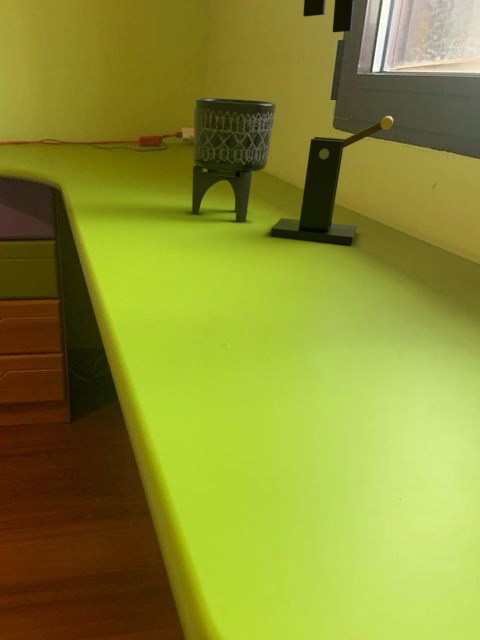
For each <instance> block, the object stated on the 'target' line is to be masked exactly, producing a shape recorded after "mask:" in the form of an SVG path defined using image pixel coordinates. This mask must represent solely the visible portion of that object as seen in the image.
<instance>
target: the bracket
mask: <svg viewBox="0 0 480 640" xmlns="http://www.w3.org/2000/svg"><path fill="white" fill-rule="evenodd" d="M344 139H345V138H337V137H336V138H335V137H324V136H314V137H313V138H311V139H310V144H309V151H308V157H307V165H306V173H305V179H304V180H305V181H304V186H303V193H302V202H301V209H300V216H299V219H293V218H285V217H281V218H279V220H278V221H277V222H276V223H275V224H274V225H273V226H272V228H271V230H270V237H276V238H284V239H293V240H294V239H295V240H302V241H310V242H319V243H326V244H327V243H328V244H329V243H330V244H336V245H337V244H338V245H347V246H352V244H353V241H354V238H355V236H356V232H357V226H356V225H352V224H351V225H349V224H341V223H333V215H334V209H335V202H336V197H337V192H338V184H339V179H340V171H341V165H342V159H343V152H344V148H342V140H344ZM341 148H342V149H341Z"/></svg>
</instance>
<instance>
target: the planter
mask: <svg viewBox="0 0 480 640" xmlns="http://www.w3.org/2000/svg"><path fill="white" fill-rule="evenodd" d="M193 104H194V107H193V109H194V112H193V113H194V114H193V116H194V117H193V148H192V149H193V151H192V152H193V154H192V158H193V159H192V160H193V163H194V164H193V165H192V191H191V193H192V196H191V197H192V199H191V214H192V215H199V214H200V209H201V205H202V201H203V198H204V196H205V195H206V193H207V192H208V191H209V189H210V188H211V187H212V186H214V185H215V184H217V183H219V182H222V181H227V182H228V183H229V185H230V186H231V189H232V191H233V194H234V212H235V221H236V222H237V223H246V222H247V215H248V207H249V200H250V192H251V186H252V185H251V183H252V177H253V176H252V175H253V173H254V172H255V173H256V172H261V171H263V170H264V169H265V168H266V167H267V164H268V159H269V153H270V146H271V139H272V133H273V127H274V121H275V114H276V107H277V104H276V103H275V102H272V101H264V100H255V99H254V100H253V99H239V98H238V99H237V98H220V97H219V98H217V97H214V98H213V97H198V98H197V97H196V98H195V99H194V103H193ZM204 170H206V171H204Z"/></svg>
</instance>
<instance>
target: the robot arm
mask: <svg viewBox="0 0 480 640" xmlns="http://www.w3.org/2000/svg"><path fill="white" fill-rule="evenodd" d="M333 7H334V8H333V19H332V20H333V21H332V31H331V32H332V33H344V32H352V30H353V19H354V9H355V8H354V7H355V0H334V6H333ZM325 12H326V0H303V17H305V18H307V17H314V16H324V15H326V13H325Z"/></svg>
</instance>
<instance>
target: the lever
mask: <svg viewBox="0 0 480 640" xmlns="http://www.w3.org/2000/svg"><path fill="white" fill-rule="evenodd" d="M393 123H394V118H393V117H392V115H385V116H384V117H383V118H382V120H380V121H379V122H377V123H375V124H373V125H370V126H369V127H367V128H364V129H362V130H360V131H358V132H356V133H354V134H353V135H350V136H348V137H346V138H343V139H344V140H342V148H343V149H345V148H347V147H348V146H351V145H353V144H355V143H357V142H360V141H361V140H364V139H365V138H368V137H370V136H372V135H373V134H376V133H378V132H380V131H382V130H384V131H388V130H390V129H391V128H392V127H393ZM342 148H341V149H342Z"/></svg>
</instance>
